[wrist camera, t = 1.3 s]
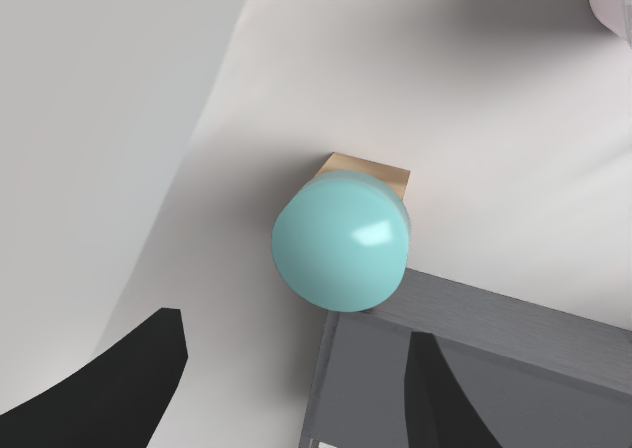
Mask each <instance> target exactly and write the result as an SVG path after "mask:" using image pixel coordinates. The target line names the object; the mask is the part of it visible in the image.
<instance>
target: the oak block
mask: <svg viewBox="0 0 632 448" xmlns="http://www.w3.org/2000/svg"><path fill="white" fill-rule="evenodd" d="M335 170H353V171H359V172H363V173H366V174H369V175H371V176H373V177H376V178H377V179H379V180H381V181H382V182H384V183H385V184H386V185H388V186H389V187H390V188H391V189H392V190H393V191H394V192H395V193H396V194H397V195H398V196H399V198H400V199H401V201H402V200H403V196H404V193H405V189H406V185H407V182H408V178H409V174H410V171H408V170H404V169H400V168H396V167H391V166H387V165H383V164H379V163H375V162H371V161H367V160H363V159H359V158H354V157H350V156H346V155H342V154H338V153H333V154H332V155H331V157H330V158H329V159H328V160H327V161H326V163H325V164H324V165H323V166H322V167H321V169H320V170H319V171H318V172H317V173H316V174H315V176H314V177H313V178H315V177H317V176H318V175H321V174H323V173H326V172H330V171H335Z"/></svg>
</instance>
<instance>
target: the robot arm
mask: <svg viewBox="0 0 632 448" xmlns="http://www.w3.org/2000/svg"><path fill="white" fill-rule="evenodd" d="M187 359H188V353H187V347H186V341H185V335H184V329H183V323H182V318H181V312H180V309H171V308H161V309H159V310H158V311H157V312H155V313H154V314H153V315H151V316H150V317H149V318H148V319H146V320H145V321H144V322H143V323H141V324H140V325H139V326H138V327H136V328H135V329H134V330H133V331H131V332H130V333H129V334H127V335H126V336H125V337H124V338H122V339H121V340H120V341H118V342H117V343H116V344H114V345H113V346H112V347H111V348H109V349H108V350H107V351H105V352H104V353H102V354H101V355H99V356H98V357H97V358H95V359H94V360H92V361H91V362H90V363H88V364H87V365H85V366H84V367H83V368H81V369H80V370H78V371H77V372H75V373H74V374H72V375H71V376H69V377H68V378H66V379H64V380H63V381H61V382H60V383H58V384H56V385H55V386H53V387H51V388H50V389H48V390H46V391H45V392H43V393H41V394H39V395H38V396H36V397H34V398H32V399H30V400H29V401H27V402H25V403H23V404H21V405H19V406H17V407H15V408H13V409H11V410H9V411H8V412H6V413H4V414H2V415H0V448H146V447H147V445H148V443H149V441H150V439H151V437H152V435H153V433H154V432H155V430H156V428H157V426H158V424H159V422H160V420H161V418H162V416H163V414H164V412H165V410H166V408H167V407H168V405H169V403H170V401H171V399H172V397H173V395H174V393H175V391H176V389H177V387H178V384H179V381H180V379H181V376H182V374H183V371H184V368H185V365H186V362H187ZM404 408H405V420H406V429H407V437H408V444H409V448H503V447H502V446H501V444H500V443H499V442H498V441H497V439H496V438H495V437H494V435H493V434H492V433H491V431H490V430H489V429H488V427H487V426H486V424H485V423H484V422H483V420H482V419H481V417H480V416H479V414H478V413H477V411H476V410H475V408H474V407H473V405H472V404H471V402H470V401H469V399H468V397H467V396H466V394H465V393H464V391H463V389H462V387H461V386H460V384H459V382H458V381H457V379H456V377H455V375H454V374H453V372H452V370H451V368H450V366H449V364H448V362H447V361H446V359H445V357H444V355H443V353H442V351H441V348H440V346H439V344H438V342H437V339H436V337H435V336H434V335H433V334H432V333H425V332H414V331H411V337H410V344H409V350H408V357H407V364H406V370H405V377H404Z"/></svg>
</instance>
